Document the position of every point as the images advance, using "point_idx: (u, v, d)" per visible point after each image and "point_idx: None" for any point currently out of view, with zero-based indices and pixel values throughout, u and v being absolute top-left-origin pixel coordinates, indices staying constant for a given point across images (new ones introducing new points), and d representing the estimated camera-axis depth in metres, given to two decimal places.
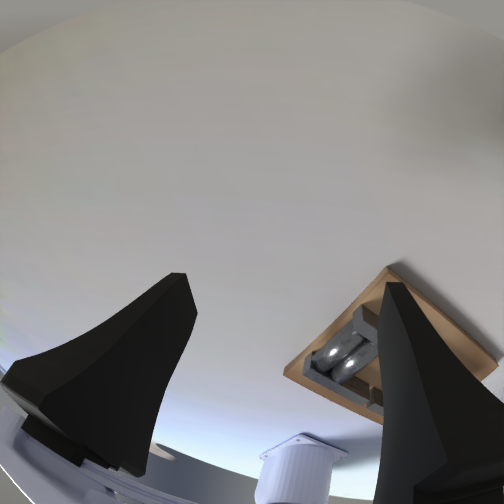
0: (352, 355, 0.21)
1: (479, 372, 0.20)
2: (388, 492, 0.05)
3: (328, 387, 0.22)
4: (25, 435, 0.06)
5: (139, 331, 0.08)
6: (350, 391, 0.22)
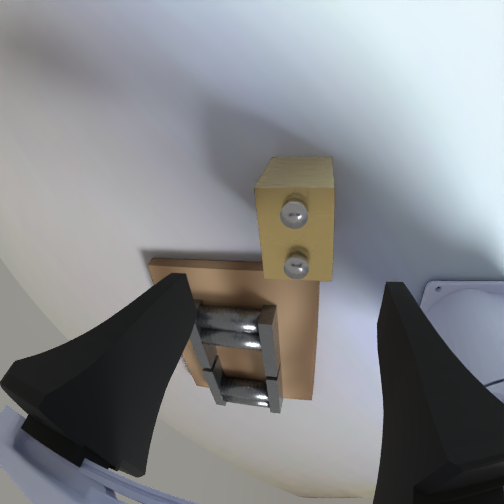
0: None
1: None
2: (388, 492, 0.05)
3: (277, 401, 0.27)
4: (25, 435, 0.06)
5: (138, 332, 0.08)
6: (268, 392, 0.26)
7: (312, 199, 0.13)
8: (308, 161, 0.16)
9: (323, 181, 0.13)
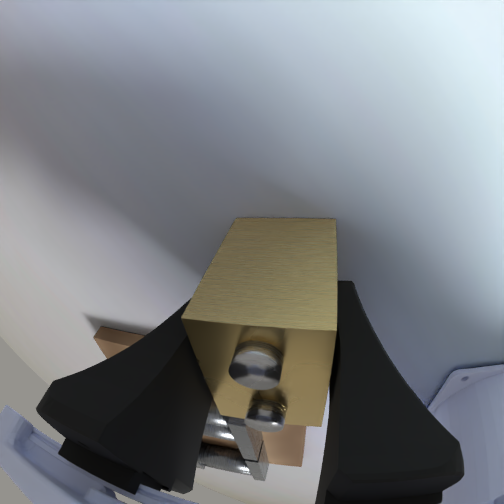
0: None
1: None
2: (320, 493, 0.06)
3: (260, 474, 0.20)
4: (25, 435, 0.06)
5: None
6: (249, 468, 0.20)
7: (292, 344, 0.07)
8: (294, 232, 0.10)
9: (315, 305, 0.07)
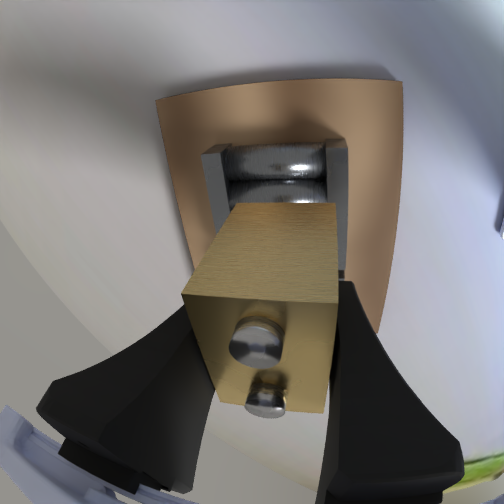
0: None
1: (187, 121, 0.15)
2: (320, 493, 0.06)
3: None
4: (25, 435, 0.06)
5: (192, 341, 0.08)
6: None
7: (293, 319, 0.07)
8: (294, 215, 0.10)
9: (316, 280, 0.07)
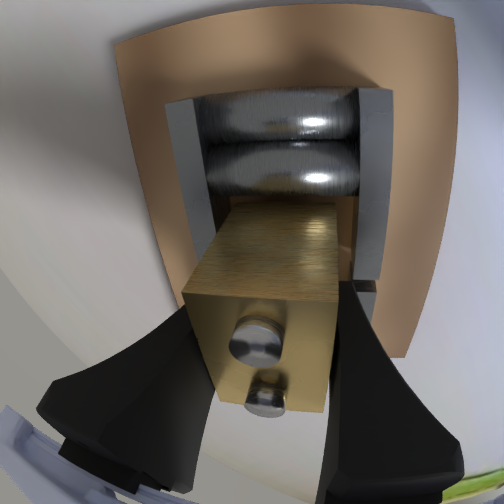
0: None
1: (154, 67, 0.10)
2: (319, 493, 0.06)
3: None
4: (25, 435, 0.06)
5: (192, 340, 0.08)
6: None
7: (293, 318, 0.07)
8: (294, 214, 0.10)
9: (316, 278, 0.07)
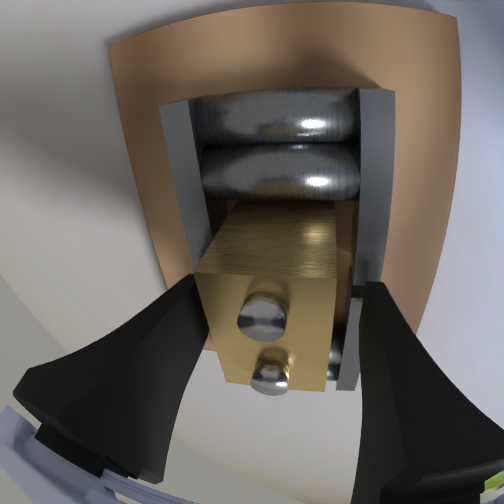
0: None
1: (149, 68, 0.09)
2: (362, 493, 0.05)
3: (358, 362, 0.13)
4: (25, 435, 0.06)
5: (159, 335, 0.08)
6: (347, 337, 0.12)
7: (296, 294, 0.07)
8: (296, 204, 0.10)
9: (316, 259, 0.07)
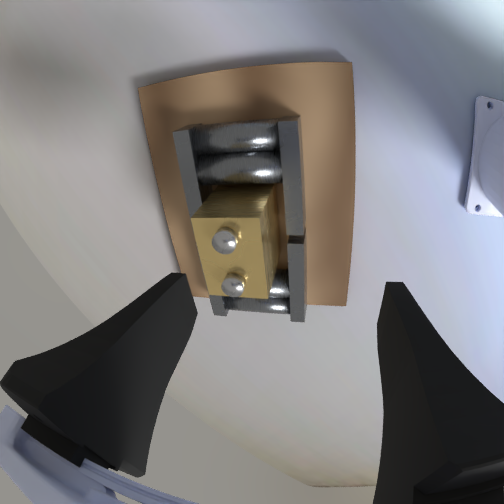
0: None
1: (164, 105, 0.17)
2: (388, 492, 0.05)
3: (301, 295, 0.20)
4: (25, 435, 0.06)
5: (138, 332, 0.08)
6: (289, 273, 0.19)
7: (241, 227, 0.15)
8: (250, 187, 0.18)
9: (252, 211, 0.15)
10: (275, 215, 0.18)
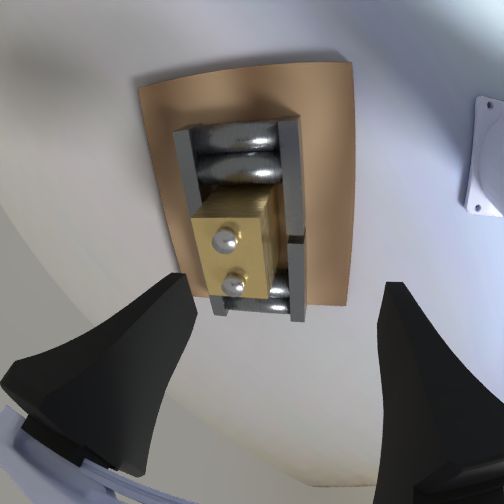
0: None
1: (164, 105, 0.17)
2: (388, 492, 0.05)
3: (301, 295, 0.20)
4: (25, 435, 0.06)
5: (138, 332, 0.08)
6: (289, 273, 0.19)
7: (241, 227, 0.15)
8: (250, 187, 0.18)
9: (252, 211, 0.15)
10: (275, 215, 0.18)
